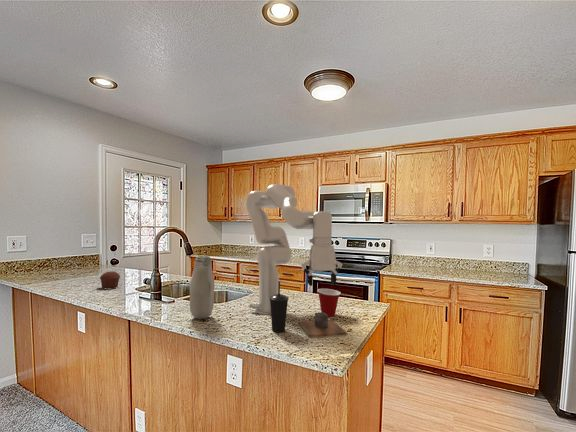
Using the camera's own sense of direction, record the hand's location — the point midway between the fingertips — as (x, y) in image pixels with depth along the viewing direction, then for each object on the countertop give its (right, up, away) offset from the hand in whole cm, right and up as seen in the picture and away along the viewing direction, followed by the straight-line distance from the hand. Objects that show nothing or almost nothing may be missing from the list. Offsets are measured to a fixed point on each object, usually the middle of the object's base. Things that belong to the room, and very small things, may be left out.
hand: (321, 284), depth 119 cm
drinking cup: (-17, -18, -3) cm, 25 cm away
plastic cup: (+5, -19, +18) cm, 27 cm away
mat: (0, -18, -1) cm, 18 cm away
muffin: (-128, -19, +72) cm, 148 cm away
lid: (0, -18, 0) cm, 18 cm away
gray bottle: (-52, -18, +14) cm, 57 cm away
